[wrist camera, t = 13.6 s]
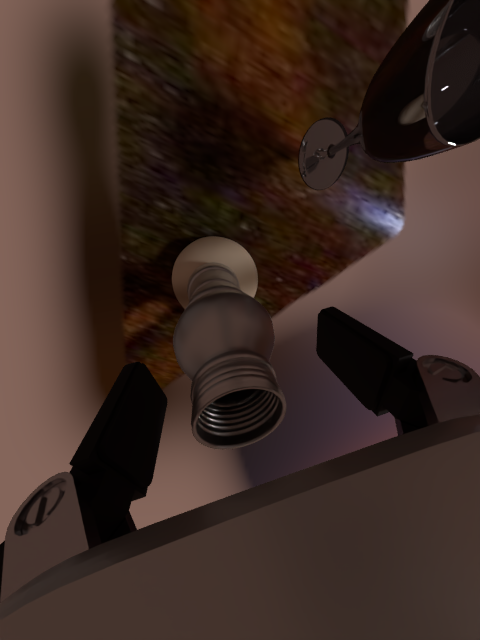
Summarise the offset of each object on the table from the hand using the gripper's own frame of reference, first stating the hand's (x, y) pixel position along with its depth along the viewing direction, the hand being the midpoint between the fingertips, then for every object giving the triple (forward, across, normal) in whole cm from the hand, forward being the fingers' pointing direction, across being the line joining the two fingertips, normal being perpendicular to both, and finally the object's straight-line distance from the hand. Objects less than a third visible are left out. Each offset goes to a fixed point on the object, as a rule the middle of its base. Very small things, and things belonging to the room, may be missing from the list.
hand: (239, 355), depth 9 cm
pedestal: (+20, 0, +1) cm, 20 cm away
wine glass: (+20, -18, -11) cm, 29 cm away
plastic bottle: (+17, +1, +1) cm, 17 cm away
